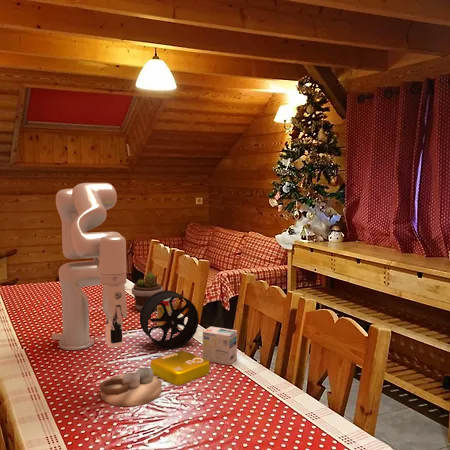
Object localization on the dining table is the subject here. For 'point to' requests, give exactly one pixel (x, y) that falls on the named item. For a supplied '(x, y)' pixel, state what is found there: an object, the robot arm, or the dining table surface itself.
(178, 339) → the car wheel rim
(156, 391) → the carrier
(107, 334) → the salt shaker
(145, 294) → the flowerpot
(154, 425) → the dining table surface
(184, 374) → the element tile
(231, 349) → the light bulb box
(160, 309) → the canned food
